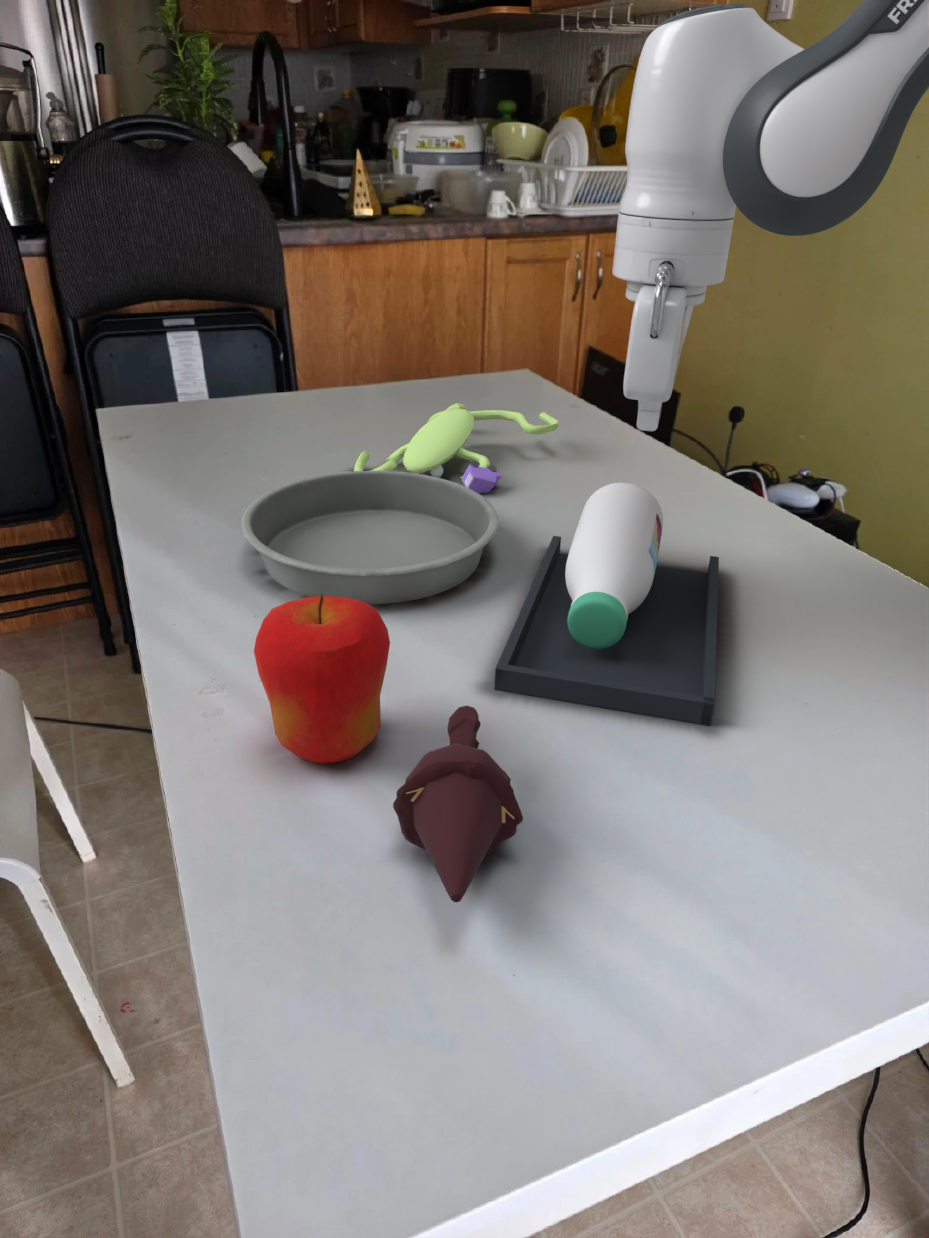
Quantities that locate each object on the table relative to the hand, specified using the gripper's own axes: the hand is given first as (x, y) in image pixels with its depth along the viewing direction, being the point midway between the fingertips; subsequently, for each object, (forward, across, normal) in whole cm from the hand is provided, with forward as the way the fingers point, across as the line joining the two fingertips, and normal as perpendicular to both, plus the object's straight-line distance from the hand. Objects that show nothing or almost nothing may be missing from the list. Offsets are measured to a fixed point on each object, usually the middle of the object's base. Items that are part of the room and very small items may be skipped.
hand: (647, 426), depth 77 cm
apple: (+15, -31, +17) cm, 39 cm away
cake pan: (+15, -2, +25) cm, 29 cm away
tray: (+15, -9, 0) cm, 18 cm away
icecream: (+15, -39, +6) cm, 42 cm away
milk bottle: (+10, +4, +1) cm, 11 cm away
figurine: (+15, +27, +24) cm, 39 cm away
